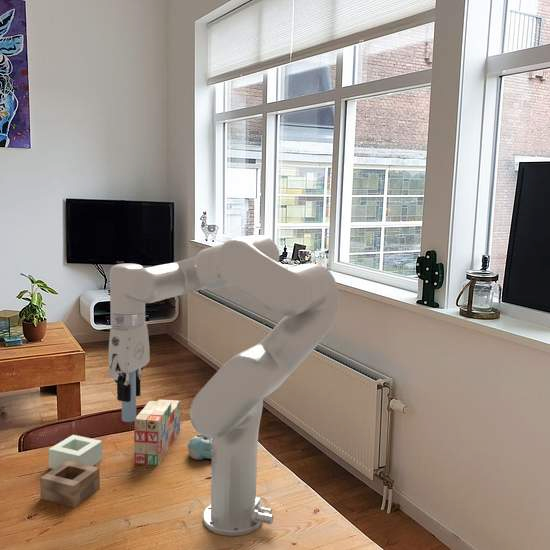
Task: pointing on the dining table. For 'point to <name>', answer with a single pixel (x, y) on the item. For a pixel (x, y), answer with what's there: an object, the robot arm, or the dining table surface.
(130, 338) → the robot arm
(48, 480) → the brown wooden square ring
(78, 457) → the white square hollow block
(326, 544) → the dining table surface
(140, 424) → the stack of blocks
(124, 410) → the light blue rod
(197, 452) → the teal cartoon creature figurine
